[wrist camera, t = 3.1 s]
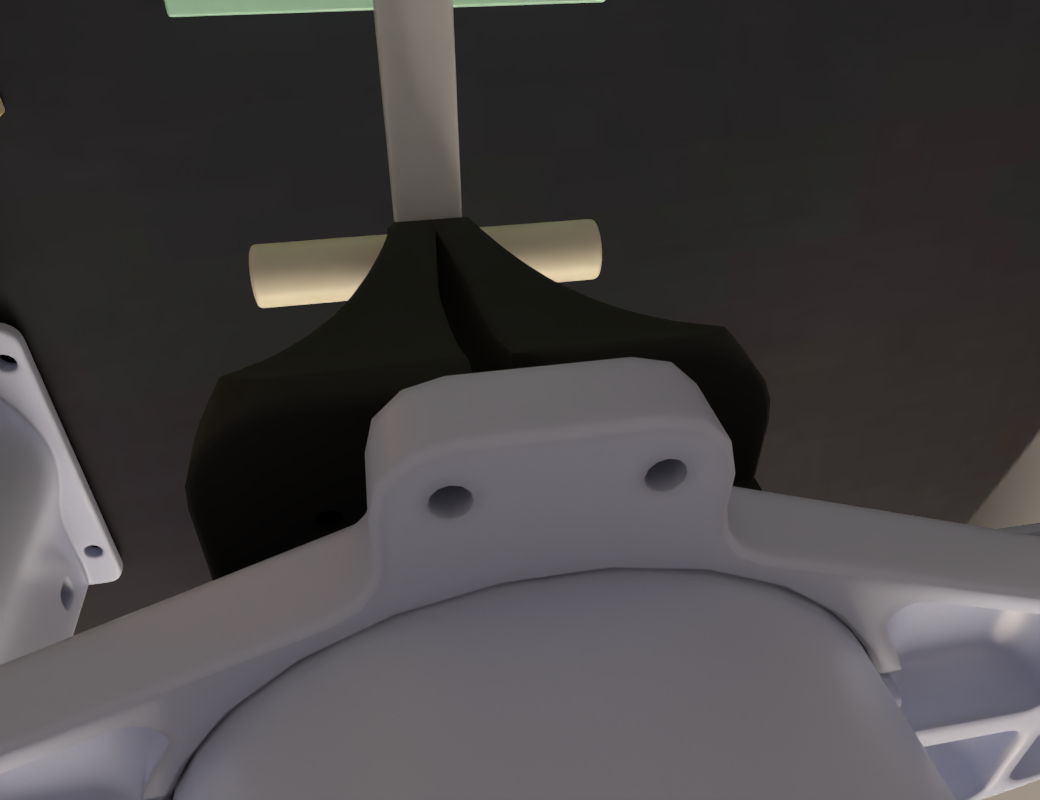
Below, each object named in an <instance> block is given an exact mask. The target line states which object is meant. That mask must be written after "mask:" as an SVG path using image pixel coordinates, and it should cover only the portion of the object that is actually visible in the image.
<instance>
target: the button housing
mask: <svg viewBox="0 0 1040 800" xmlns="http://www.w3.org/2000/svg"><path fill="white" fill-rule="evenodd" d="M4 112H5V108H4V106H3V103H2V100H1V98H0V116H1V115H2V114H3V113H4Z"/></svg>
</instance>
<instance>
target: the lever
mask: <svg viewBox="0 0 1040 800" xmlns="http://www.w3.org/2000/svg"><path fill="white" fill-rule="evenodd" d="M373 9H374V19H375V29H376V40H377V50H378V60H379V70H380V81H381V91H382V101H383V112H384V122H385V132H386V143H387V153H388V163H389V173H390V184H391V194H392V204H393V215H394V222H404V221H418V220H431V219H445V218H459V217H462V204H461V181H460V158H459V135H458V111H457V88H456V65H455V42H454V18H453V0H373ZM480 228H481V229H482V230H483V231H484V232H485V233H487V234H488V235H489V236H490V237H491V238H493V239H494V240H495V241H496V242H497V243H499V244H500V245H501V246H502V247H504V248H505V249H506V250H508V251H509V252H510V253H512V254H513V255H514V256H516V257H517V258H518V259H520V260H521V261H523V262H524V263H526V264H527V265H529V266H530V267H532V268H533V269H535V270H537V271H538V272H540V273H541V274H543V275H544V276H546V277H548V278H550V279H551V280H553V281H555V282H567V281H579V280H590V279H595V278H597V277H598V275H599V273H600V269H601V263H602V245H601V238H600V233H599V230H598V227H597V224H596V222H595V221H594V220H591V219H583V220H570V221H557V222H543V223H530V224H517V225H504V226H491V227H480ZM386 237H387V234H385V235H372V236H359V237H346V238H333V239H320V240H307V241H293V242H280V243H267V244H254V245H252V246H251V247H250V251H249V270H250V278H251V284H252V289H253V294H254V297H255V300H256V302H257V304H258V306H259V307H261V308H270V307H282V306H293V305H305V304H316V303H328V302H339V301H348V300H349V299H350V298H351V296H352V295H353V294H354V292H355V291H356V290H357V288H358V287H359V285H360V284H361V283H362V281H363V280H364V279H365V277H366V276H367V274H368V273H369V271H370V269H371V267H372V266H373V264H374V262H375V260H376V259H377V257H378V255H379V253H380V251H381V249H382V247H383V245H384V242H385V240H386Z"/></svg>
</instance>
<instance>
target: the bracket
mask: <svg viewBox="0 0 1040 800" xmlns="http://www.w3.org/2000/svg"><path fill="white" fill-rule="evenodd" d="M604 1H605V0H453V7H478V6H507V5H536V4H565V3H593V2H604ZM164 3H165V7H166V11H167V14H168V16H170V17H191V16H219V15H248V14H277V13H306V12H334V11H363V10H374V9H373V0H164Z"/></svg>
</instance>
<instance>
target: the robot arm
mask: <svg viewBox="0 0 1040 800" xmlns="http://www.w3.org/2000/svg"><path fill="white" fill-rule="evenodd" d="M0 355H8V356H10V357H12V358H14V359H15V360H16V362H17V363H8V362H6V361H4V360H2V358H1V357H0V800H982V799H985V798H988V797H991V796H994V795H996V794H1000V793H1002V792H1005V791H1008V790H1011V789H1014V788H1017V787H1020V786H1022V785H1025V784H1028V783H1031V782H1034V781H1037V780H1040V523H1036V524H1029V525H1022V526H1015V527H1008V528H1002V529H992V528H986V527H979V526H973V525H967V524H961V523H955V522H949V521H943V520H937V519H930V518H924V517H918V516H912V515H906V514H900V513H894V512H888V511H881V510H875V509H869V508H863V507H857V506H851V505H845V504H839V503H832V502H826V501H820V500H814V499H808V498H802V497H796V496H790V495H783V494H777V493H771V492H765V491H762V489H761V488H760V486H759V484H758V483H757V481H756V479H755V478H754V477H755V473H756V469H757V465H758V461H759V457H760V453H761V449H762V445H763V441H764V437H765V433H766V429H767V425H768V420H769V409H770V397H769V393H768V390H767V386H766V382H765V380H764V378H763V377H762V376H761V374H760V373H759V371H758V370H757V369H756V367H755V366H754V364H753V362H752V361H751V360H750V358H749V357H748V355H747V354H746V352H745V351H744V349H743V348H742V347H741V346H740V344H739V343H738V342H737V341H736V339H735V338H734V337H733V336H732V335H731V333H730V332H729V331H728V330H727V329H726V328H725V327H721V326H712V325H703V324H695V323H686V322H677V321H671V320H666V319H661V318H657V317H652V316H647V315H642V314H638V313H635V312H631V311H627V310H624V309H620V308H617V307H614V306H611V305H609V304H606V303H603V302H600V301H597V300H594V299H592V298H589V297H587V296H584V295H582V294H580V293H578V292H575V291H573V290H571V289H569V288H567V287H565V286H563V285H561V284H559V283H557V282H555V281H553V280H551V279H550V278H548V277H546V276H544V275H543V274H541V273H540V272H538V271H537V270H535V269H533V268H532V267H530V266H529V265H527V264H526V263H524V262H523V261H521V260H520V259H518V258H517V257H516V256H514V255H513V254H512V253H510V252H509V251H508V250H506V249H505V248H504V247H502V246H501V245H500V244H499V243H497V242H496V241H495V240H494V239H493V238H491V237H490V236H489V235H488V234H487V233H485V232H484V231H483V230H482V229H481V228H480V227H478V226H477V225H476V224H475V223H474V222H473V221H471V220H470V219H469V218H468V217H459V218H445V219H431V220H418V221H404V222H394V223H393V224H392V225H391V226H390V228H389V229H388V234H387V237H386V240H385V242H384V245H383V247H382V249H381V251H380V253H379V255H378V257H377V259H376V260H375V262H374V264H373V266H372V267H371V269H370V271H369V273H368V274H367V276H366V277H365V279H364V280H363V281H362V283H361V284H360V285H359V287H358V288H357V290H356V291H355V292H354V294H353V295H352V296H351V298H350V299H349V300H348V301H347V302H346V304H345V305H344V306H343V307H342V308H341V309H340V310H339V311H338V312H337V313H336V314H335V315H334V316H333V317H332V318H331V319H329V320H328V321H327V322H325V323H324V324H323V325H321V326H320V327H319V328H317V329H316V330H315V331H313V332H312V333H311V334H309V335H308V336H307V337H305V338H304V339H302V340H301V341H299V342H297V343H296V344H294V345H292V346H291V347H289V348H287V349H285V350H283V351H282V352H280V353H278V354H276V355H274V356H272V357H270V358H268V359H266V360H263V361H261V362H259V363H256V364H254V365H251V366H248V367H246V368H243V369H241V370H238V371H236V372H233V373H230V374H227V375H224V376H221V377H220V378H219V380H218V382H217V384H216V386H215V388H214V390H213V393H212V395H211V397H210V400H209V402H208V404H207V406H206V409H205V411H204V413H203V416H202V418H201V421H200V423H199V426H198V429H197V433H196V436H195V439H194V444H193V448H192V454H191V459H190V464H189V469H188V474H187V480H186V485H185V489H186V496H187V502H188V509H189V512H190V515H191V518H192V521H193V524H194V527H195V530H196V532H197V535H198V538H199V541H200V544H201V547H202V550H203V553H204V556H205V558H206V561H207V564H208V567H209V570H210V573H211V576H212V579H213V581H211V582H208V583H205V584H203V585H200V586H198V587H195V588H193V589H190V590H188V591H185V592H183V593H180V594H178V595H175V596H173V597H170V598H168V599H165V600H163V601H160V602H158V603H155V604H153V605H150V606H148V607H145V608H142V609H140V610H137V611H135V612H132V613H130V614H127V615H125V616H122V617H120V618H117V619H115V620H112V621H110V622H107V623H105V624H102V625H100V626H97V627H95V628H92V629H90V630H87V631H85V632H82V633H79V634H77V635H74V636H73V634H74V631H75V627H76V624H77V621H78V618H79V614H80V611H81V608H82V604H83V601H84V598H85V595H86V591H87V588H88V585H92V584H99V583H107V582H111V581H115V580H116V579H118V578H119V577H120V575H121V573H122V569H123V562H122V560H121V558H120V555H119V553H118V551H117V548H116V546H115V544H114V542H113V539H112V537H111V535H110V533H109V530H108V528H107V526H106V523H105V521H104V519H103V517H102V514H101V512H100V510H99V508H98V505H97V503H96V501H95V498H94V496H93V494H92V492H91V489H90V487H89V485H88V483H87V480H86V478H85V476H84V473H83V471H82V469H81V467H80V464H79V462H78V460H77V458H76V455H75V453H74V451H73V448H72V446H71V444H70V442H69V439H68V437H67V435H66V433H65V430H64V428H63V426H62V423H61V421H60V419H59V417H58V414H57V412H56V410H55V408H54V405H53V403H52V401H51V398H50V396H49V394H48V392H47V389H46V387H45V385H44V383H43V380H42V378H41V376H40V374H39V371H38V369H37V367H36V364H35V362H34V360H33V358H32V355H31V353H30V351H29V349H28V346H27V344H26V342H25V339H24V337H23V336H22V334H21V333H20V332H19V331H18V330H17V329H15V328H14V327H13V326H10V325H7V324H5V323H0ZM90 545H96V546H98V547H99V548H97V547H92V546H90Z"/></svg>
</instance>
